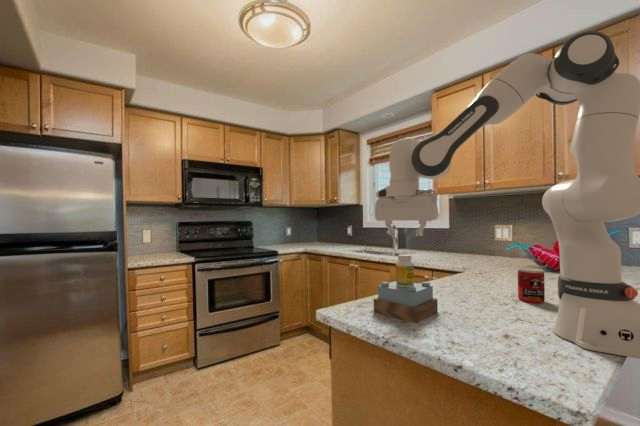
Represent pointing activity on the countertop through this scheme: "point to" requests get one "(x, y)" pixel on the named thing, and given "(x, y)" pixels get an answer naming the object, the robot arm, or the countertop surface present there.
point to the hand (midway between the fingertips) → (405, 235)
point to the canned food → (531, 285)
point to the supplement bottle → (404, 271)
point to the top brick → (405, 293)
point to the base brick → (406, 309)
